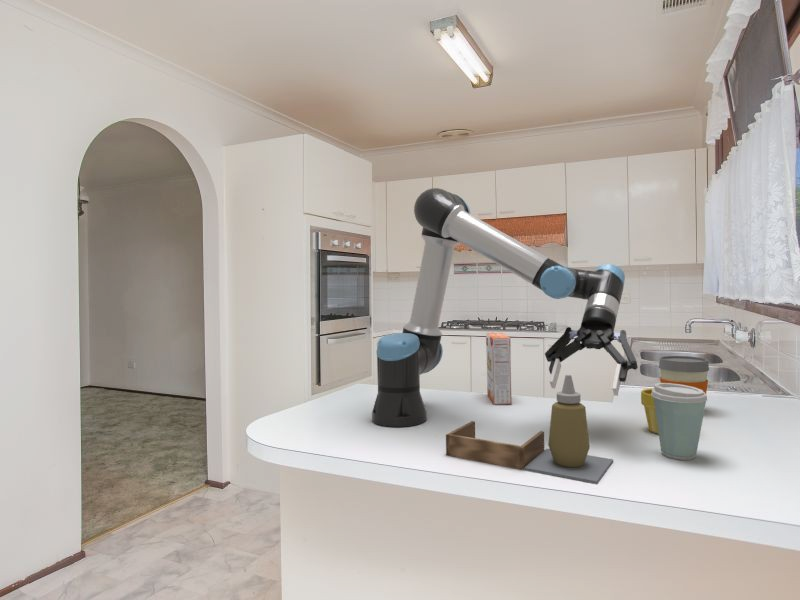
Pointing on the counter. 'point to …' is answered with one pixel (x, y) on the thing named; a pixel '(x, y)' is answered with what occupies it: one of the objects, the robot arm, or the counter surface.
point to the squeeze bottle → (568, 428)
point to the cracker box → (498, 368)
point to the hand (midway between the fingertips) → (582, 388)
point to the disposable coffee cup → (679, 418)
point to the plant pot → (649, 409)
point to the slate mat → (586, 472)
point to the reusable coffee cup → (684, 371)
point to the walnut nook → (492, 448)
